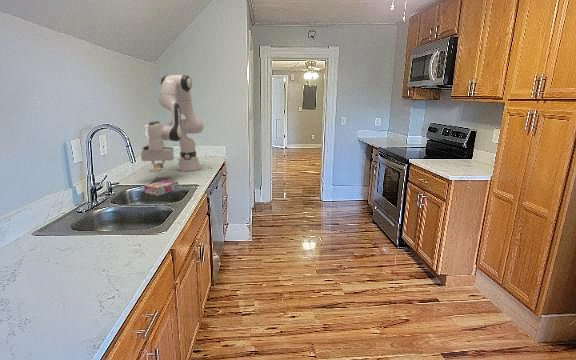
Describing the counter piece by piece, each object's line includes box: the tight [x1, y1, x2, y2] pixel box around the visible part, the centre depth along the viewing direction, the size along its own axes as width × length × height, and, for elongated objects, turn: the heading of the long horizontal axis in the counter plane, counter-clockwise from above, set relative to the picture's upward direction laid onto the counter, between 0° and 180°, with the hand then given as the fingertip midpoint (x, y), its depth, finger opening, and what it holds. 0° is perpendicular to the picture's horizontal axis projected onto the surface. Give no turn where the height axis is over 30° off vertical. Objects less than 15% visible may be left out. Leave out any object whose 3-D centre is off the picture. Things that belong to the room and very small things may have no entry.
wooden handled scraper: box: [148, 162, 164, 173], centre depth 219 cm, size 17×6×3 cm, turn 7°
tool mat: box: [149, 176, 171, 184], centre depth 222 cm, size 24×10×1 cm, turn 8°
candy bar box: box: [144, 179, 180, 197], centre depth 201 cm, size 11×5×16 cm
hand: (158, 167), depth 222 cm, fingers closed on wooden handled scraper, 3 cm apart
